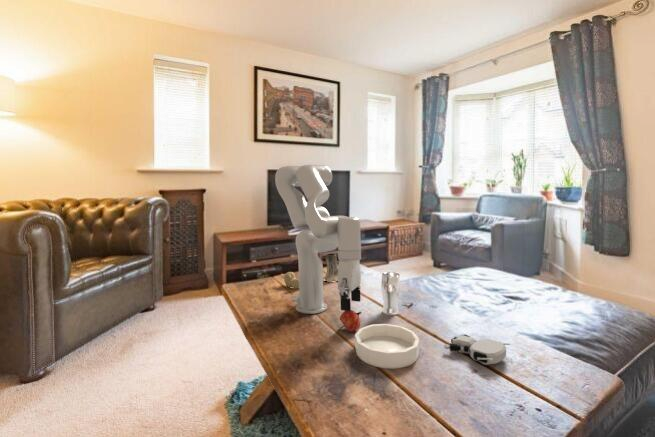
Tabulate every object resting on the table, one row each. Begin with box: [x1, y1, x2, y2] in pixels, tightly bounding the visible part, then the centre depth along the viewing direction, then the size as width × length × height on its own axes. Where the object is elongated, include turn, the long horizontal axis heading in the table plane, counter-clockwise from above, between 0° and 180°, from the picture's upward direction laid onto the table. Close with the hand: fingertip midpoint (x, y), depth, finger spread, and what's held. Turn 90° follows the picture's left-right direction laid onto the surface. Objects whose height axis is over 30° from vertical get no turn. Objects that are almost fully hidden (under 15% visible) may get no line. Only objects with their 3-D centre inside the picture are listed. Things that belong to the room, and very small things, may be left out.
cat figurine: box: [280, 271, 299, 290], centre depth 158 cm, size 8×7×12 cm
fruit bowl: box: [354, 323, 420, 370], centre depth 97 cm, size 18×18×4 cm
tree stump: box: [323, 253, 338, 283], centre depth 169 cm, size 10×10×13 cm
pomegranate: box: [337, 309, 363, 333], centre depth 111 cm, size 7×7×10 cm
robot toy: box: [443, 333, 511, 366], centre depth 94 cm, size 12×4×15 cm
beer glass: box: [381, 271, 401, 316], centre depth 126 cm, size 7×7×15 cm
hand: (351, 305), depth 109 cm, fingers open, 9 cm apart
